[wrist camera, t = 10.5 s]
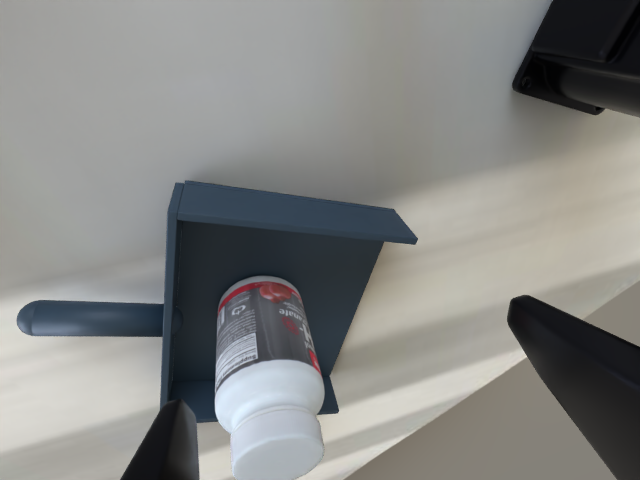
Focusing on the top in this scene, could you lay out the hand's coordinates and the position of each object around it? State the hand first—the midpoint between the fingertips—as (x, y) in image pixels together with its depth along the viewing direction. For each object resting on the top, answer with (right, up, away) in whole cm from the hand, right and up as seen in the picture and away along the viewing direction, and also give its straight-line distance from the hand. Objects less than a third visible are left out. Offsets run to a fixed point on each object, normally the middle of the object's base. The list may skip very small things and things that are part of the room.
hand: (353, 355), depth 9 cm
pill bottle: (-5, -1, +14) cm, 15 cm away
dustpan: (-7, -1, +13) cm, 15 cm away
